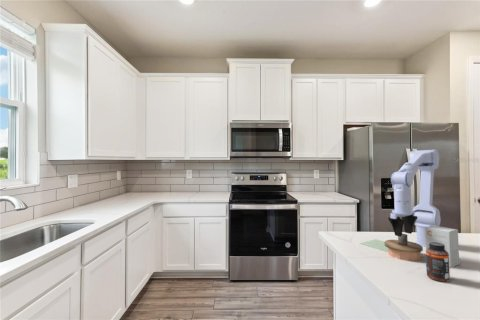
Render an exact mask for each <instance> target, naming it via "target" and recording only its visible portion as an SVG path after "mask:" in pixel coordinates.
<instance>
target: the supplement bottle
mask: <svg viewBox="0 0 480 320" xmlns="http://www.w3.org/2000/svg"><path fill="white" fill-rule="evenodd" d="M425 264H426V266H425V267H426V276H427V277H428V278H430V279H432V280H434V281H438V282H449V281H450V277H451V275H450V267H449V254H448V252H447V251H445V245H444V244H442V243H438V242H430V243H429V248H428V249H426V248H425Z"/></svg>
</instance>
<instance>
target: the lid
mask: <svg viewBox="0 0 480 320" xmlns="http://www.w3.org/2000/svg"><path fill="white" fill-rule="evenodd" d="M384 242H385V246H386V247H388V248H390V249H393V250H397V251H402V252H411V253H416V252H421V253H422V252H423V251H424V247H423V246H421V245H419V244H417V243H416V242H413V241H409V240H408V234H407V233H406V234H405V233H402V236H401V237H400V236H397V239H388V240H385V241H384Z"/></svg>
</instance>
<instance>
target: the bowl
mask: <svg viewBox="0 0 480 320" xmlns="http://www.w3.org/2000/svg"><path fill="white" fill-rule="evenodd" d="M387 253H388V255H389V257H392V258H395V259H398V260H402V261H408V262H409V261H410V262H416V261H417V262H418V261H420V260H422V259H421V258H422V254H421V253H422V251H421V252H416V253H411V252H402V251H397V250H393V249H390V248H388V252H387Z"/></svg>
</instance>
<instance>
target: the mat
mask: <svg viewBox="0 0 480 320" xmlns="http://www.w3.org/2000/svg"><path fill="white" fill-rule="evenodd" d="M359 245H361V246H366V247H369V248H372V249H375V250H379V251H383V252H386V253H389V252H388V247H386V246H385V241H383V240H380V239H372V240H368V241H364V242H361V243H360V242H359Z"/></svg>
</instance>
